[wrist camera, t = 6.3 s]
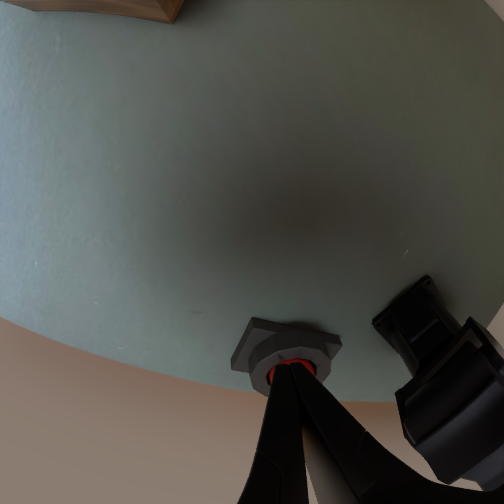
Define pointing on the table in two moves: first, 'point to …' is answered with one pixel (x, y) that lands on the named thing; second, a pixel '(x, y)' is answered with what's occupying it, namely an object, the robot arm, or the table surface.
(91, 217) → the table surface
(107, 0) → the wooden box
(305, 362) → the button
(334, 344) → the control block
